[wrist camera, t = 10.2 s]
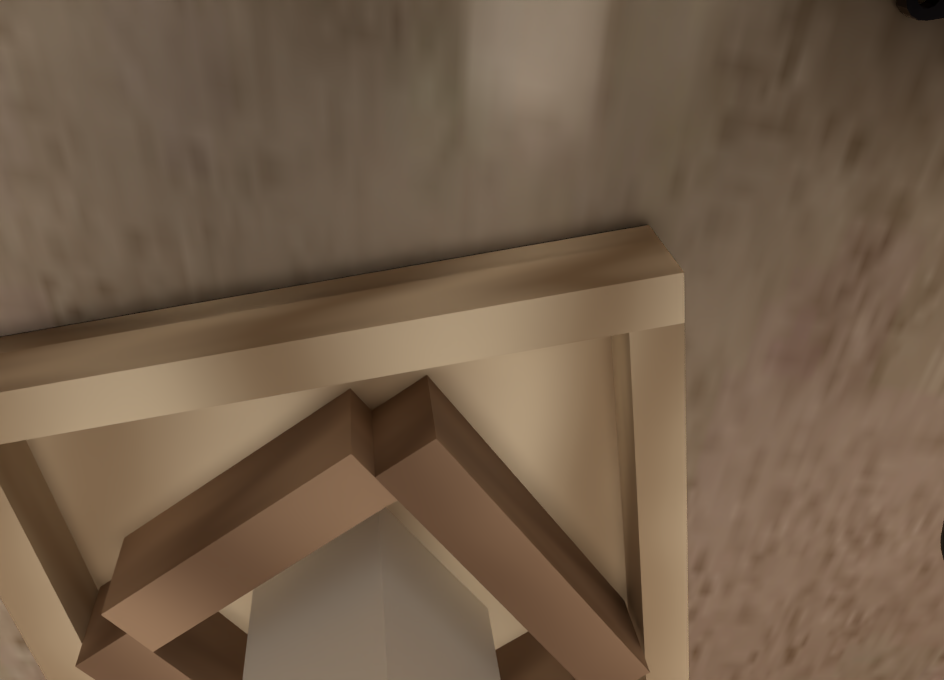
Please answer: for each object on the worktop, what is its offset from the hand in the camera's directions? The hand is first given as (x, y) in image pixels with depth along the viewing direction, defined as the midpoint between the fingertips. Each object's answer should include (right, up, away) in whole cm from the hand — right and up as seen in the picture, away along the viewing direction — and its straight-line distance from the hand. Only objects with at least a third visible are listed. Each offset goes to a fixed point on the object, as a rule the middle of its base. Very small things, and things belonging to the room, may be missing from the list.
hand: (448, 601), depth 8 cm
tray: (-2, -4, +17) cm, 18 cm away
